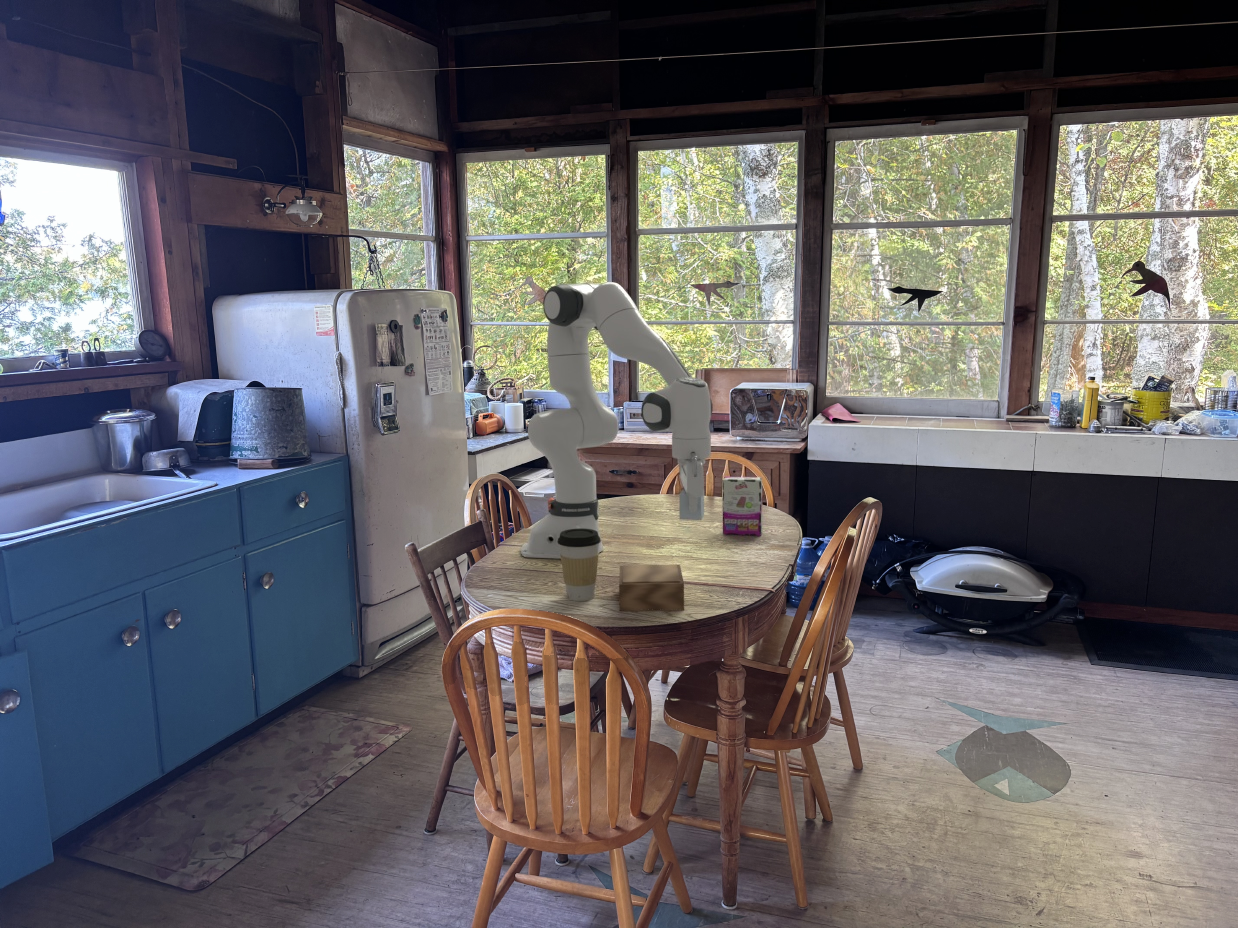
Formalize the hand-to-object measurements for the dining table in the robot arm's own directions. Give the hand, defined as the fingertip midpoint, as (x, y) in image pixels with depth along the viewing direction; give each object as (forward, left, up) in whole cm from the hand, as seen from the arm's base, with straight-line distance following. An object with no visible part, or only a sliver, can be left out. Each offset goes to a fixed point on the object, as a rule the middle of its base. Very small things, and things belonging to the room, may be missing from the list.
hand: (691, 508), depth 198 cm
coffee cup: (-26, -5, -19) cm, 33 cm away
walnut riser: (-10, -8, -19) cm, 23 cm away
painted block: (0, 0, -2) cm, 2 cm away
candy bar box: (+18, +49, -19) cm, 55 cm away
